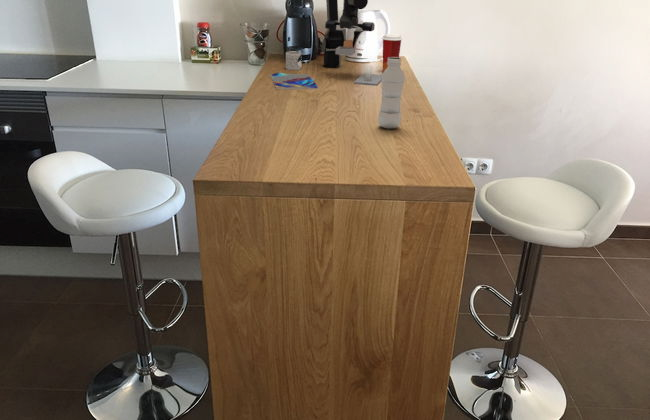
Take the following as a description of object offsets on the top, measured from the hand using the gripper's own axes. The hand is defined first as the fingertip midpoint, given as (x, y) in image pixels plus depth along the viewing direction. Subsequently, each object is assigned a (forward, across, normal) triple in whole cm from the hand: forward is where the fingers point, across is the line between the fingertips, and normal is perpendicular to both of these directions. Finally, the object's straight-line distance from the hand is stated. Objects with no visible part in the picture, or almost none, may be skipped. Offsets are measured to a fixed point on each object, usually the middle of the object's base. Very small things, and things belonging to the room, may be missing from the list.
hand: (348, 48), depth 229 cm
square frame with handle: (+1, 0, -1) cm, 2 cm away
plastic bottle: (+11, +29, -67) cm, 74 cm away
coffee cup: (+11, +14, +15) cm, 24 cm away
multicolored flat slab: (+12, -17, -19) cm, 28 cm away
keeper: (+11, +10, -4) cm, 15 cm away
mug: (+11, -26, +7) cm, 29 cm away
